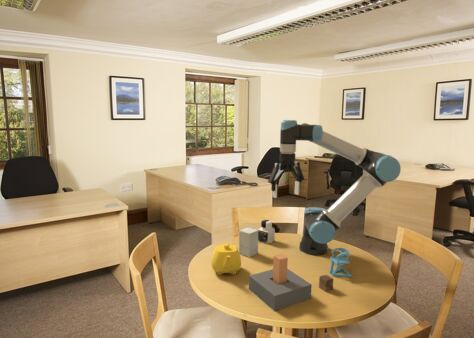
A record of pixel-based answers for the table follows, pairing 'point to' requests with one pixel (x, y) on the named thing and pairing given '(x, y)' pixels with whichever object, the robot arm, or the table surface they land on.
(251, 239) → the supplement box
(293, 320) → the table surface
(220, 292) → the table surface
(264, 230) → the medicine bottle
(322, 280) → the short pin
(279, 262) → the tall pin
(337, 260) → the blue tall openwork piece
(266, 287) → the hole block
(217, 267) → the teapot
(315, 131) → the robot arm
